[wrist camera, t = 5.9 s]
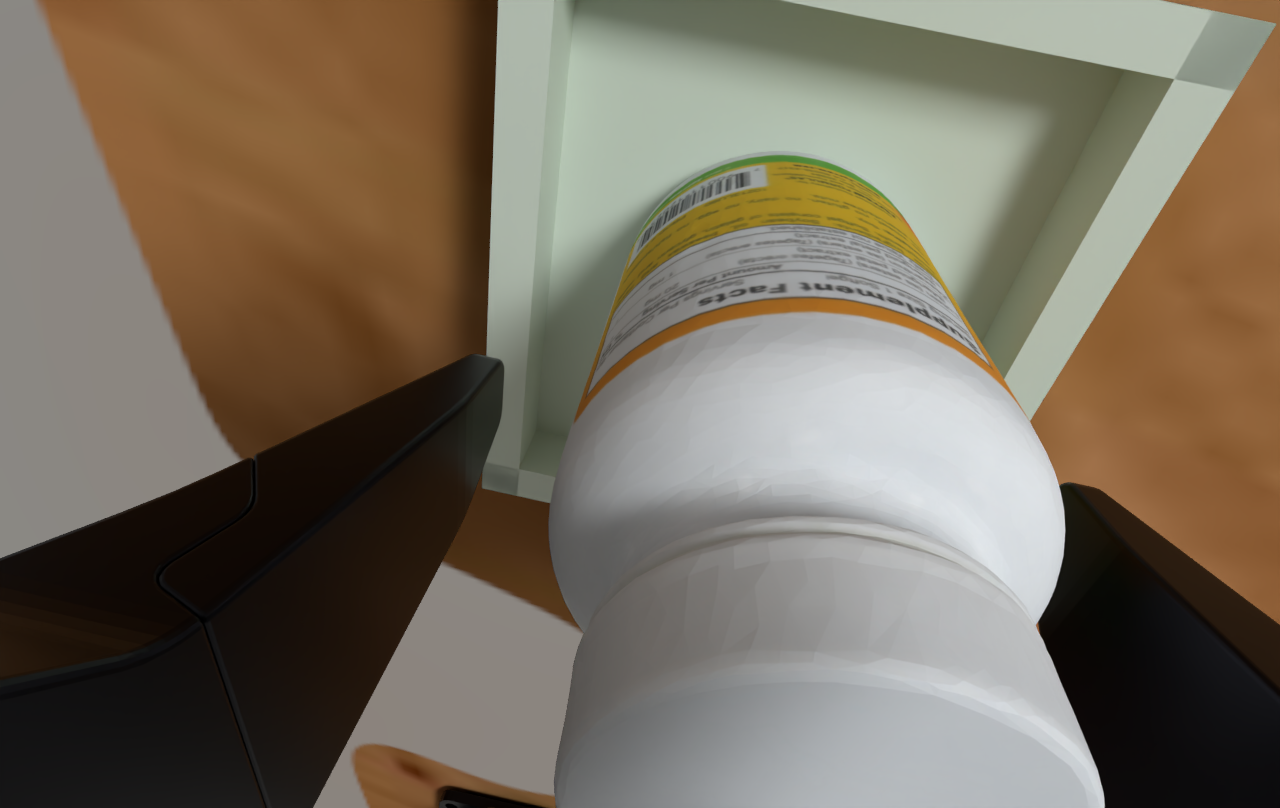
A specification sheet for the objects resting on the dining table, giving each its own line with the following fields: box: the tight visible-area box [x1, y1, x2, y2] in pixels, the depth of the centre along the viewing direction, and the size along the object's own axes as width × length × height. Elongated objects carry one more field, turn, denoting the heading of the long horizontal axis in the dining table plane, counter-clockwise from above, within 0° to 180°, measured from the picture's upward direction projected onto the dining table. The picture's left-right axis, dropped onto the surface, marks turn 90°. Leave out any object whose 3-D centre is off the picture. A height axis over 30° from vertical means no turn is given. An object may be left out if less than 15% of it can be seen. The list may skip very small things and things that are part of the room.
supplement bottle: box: [549, 151, 1105, 808], centre depth 9 cm, size 5×5×10 cm
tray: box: [482, 0, 1276, 503], centre depth 13 cm, size 11×10×2 cm
